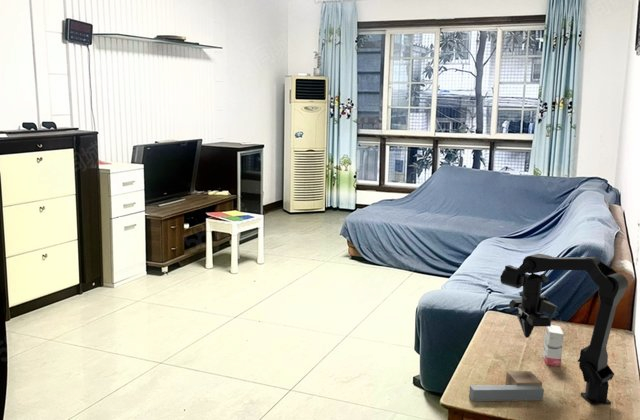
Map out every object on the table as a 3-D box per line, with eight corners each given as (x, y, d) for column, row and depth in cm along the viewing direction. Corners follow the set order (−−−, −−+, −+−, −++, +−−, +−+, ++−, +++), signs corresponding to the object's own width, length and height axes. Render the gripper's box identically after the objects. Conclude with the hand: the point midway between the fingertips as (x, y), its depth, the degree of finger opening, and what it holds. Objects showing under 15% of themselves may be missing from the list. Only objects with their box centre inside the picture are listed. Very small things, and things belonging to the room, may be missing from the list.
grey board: (542, 400, 183) (543, 389, 183) (472, 401, 181) (473, 390, 180) (538, 395, 186) (539, 384, 186) (469, 396, 184) (470, 385, 183)
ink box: (560, 366, 208) (564, 334, 206) (545, 365, 209) (549, 332, 207) (556, 356, 216) (560, 325, 214) (542, 355, 217) (545, 323, 215)
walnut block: (540, 396, 186) (542, 382, 186) (515, 396, 186) (517, 382, 185) (529, 384, 194) (530, 371, 193) (505, 384, 193) (506, 371, 193)
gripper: (569, 301, 190) (563, 348, 193) (541, 283, 208) (536, 326, 211) (535, 301, 189) (530, 348, 192) (510, 283, 207) (506, 326, 210)
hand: (526, 337), depth 201 cm, fingers closed
